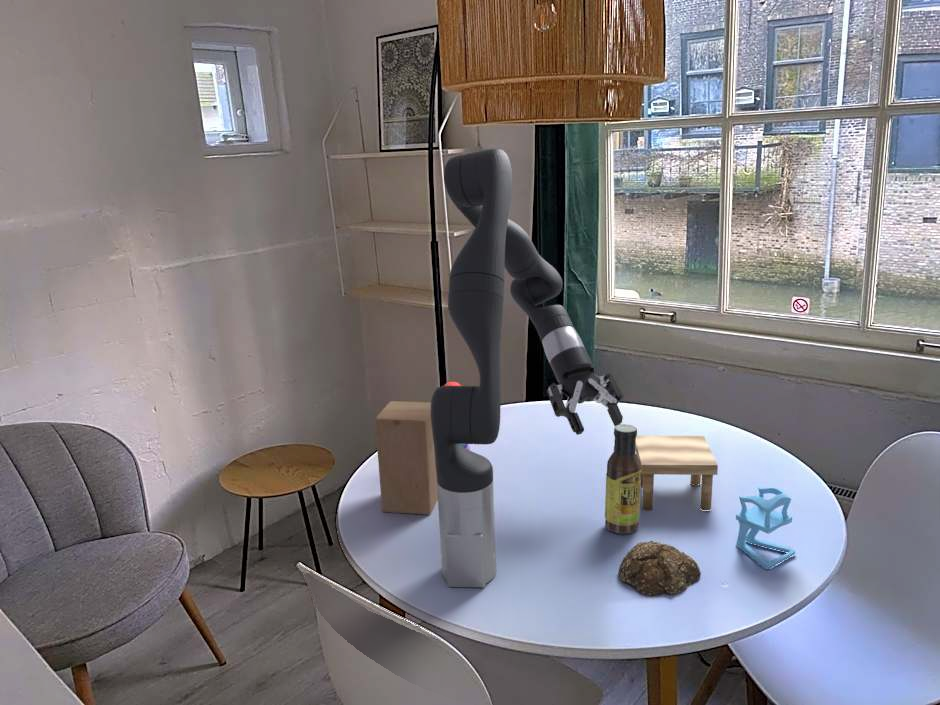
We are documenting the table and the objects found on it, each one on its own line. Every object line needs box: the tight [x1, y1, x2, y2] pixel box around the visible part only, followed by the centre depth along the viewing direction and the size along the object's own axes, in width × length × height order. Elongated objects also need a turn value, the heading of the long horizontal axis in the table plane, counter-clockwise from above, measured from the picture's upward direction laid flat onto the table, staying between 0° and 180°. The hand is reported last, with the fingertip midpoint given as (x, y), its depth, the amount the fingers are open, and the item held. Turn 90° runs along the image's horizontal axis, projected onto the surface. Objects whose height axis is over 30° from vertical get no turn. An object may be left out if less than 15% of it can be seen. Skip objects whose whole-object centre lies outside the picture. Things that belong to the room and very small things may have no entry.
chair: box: [735, 486, 796, 570], centre depth 133 cm, size 8×8×12 cm
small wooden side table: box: [635, 435, 719, 512], centre depth 155 cm, size 14×14×10 cm
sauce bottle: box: [604, 423, 642, 535], centre depth 142 cm, size 6×6×20 cm
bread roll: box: [618, 540, 702, 597], centre depth 129 cm, size 13×12×5 cm
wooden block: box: [374, 400, 438, 516], centre depth 155 cm, size 10×10×20 cm
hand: (600, 428), depth 146 cm, fingers open, 8 cm apart
